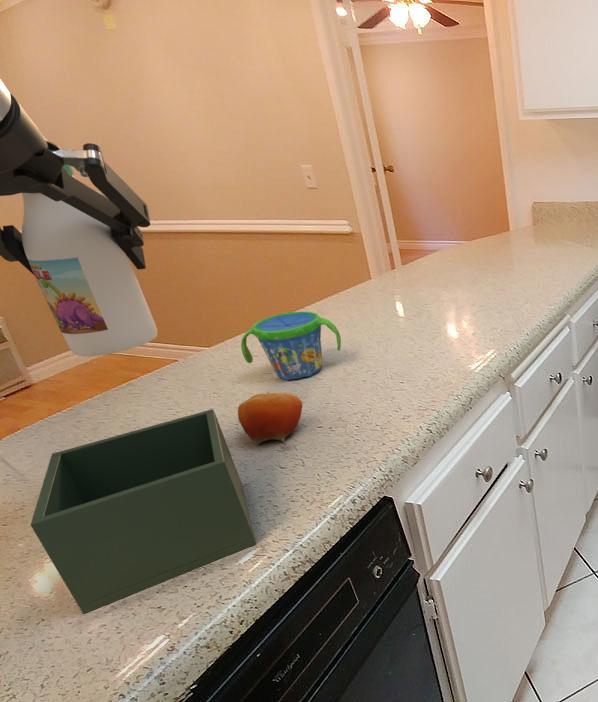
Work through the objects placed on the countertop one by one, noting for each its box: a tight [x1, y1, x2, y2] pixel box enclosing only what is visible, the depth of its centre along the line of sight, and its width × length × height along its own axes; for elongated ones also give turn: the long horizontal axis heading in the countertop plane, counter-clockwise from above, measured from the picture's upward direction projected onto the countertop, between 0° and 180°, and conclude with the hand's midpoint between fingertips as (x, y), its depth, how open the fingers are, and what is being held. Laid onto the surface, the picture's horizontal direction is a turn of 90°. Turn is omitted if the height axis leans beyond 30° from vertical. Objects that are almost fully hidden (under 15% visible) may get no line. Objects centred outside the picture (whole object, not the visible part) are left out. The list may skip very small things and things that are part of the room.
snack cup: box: [240, 311, 342, 381], centre depth 101 cm, size 16×10×10 cm
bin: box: [30, 408, 257, 614], centre depth 61 cm, size 15×15×11 cm
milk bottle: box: [21, 165, 159, 357], centre depth 60 cm, size 8×8×20 cm
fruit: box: [237, 392, 303, 446], centre depth 82 cm, size 8×8×8 cm
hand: (94, 265), depth 63 cm, fingers closed on milk bottle, 8 cm apart
